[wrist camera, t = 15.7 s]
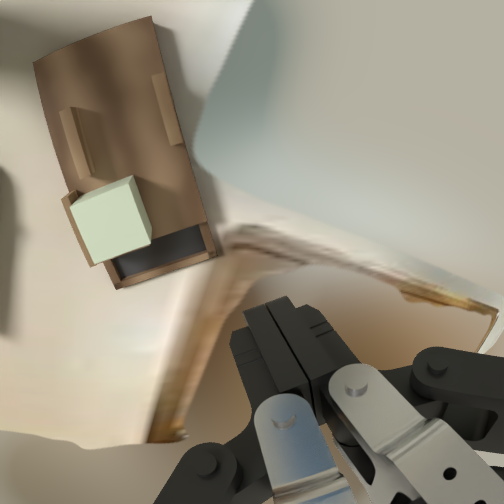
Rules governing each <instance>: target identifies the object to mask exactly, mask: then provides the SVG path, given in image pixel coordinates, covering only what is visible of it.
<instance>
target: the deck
mask: <svg viewBox="0 0 504 504" xmlns="http://www.w3.org/2000/svg"><path fill="white" fill-rule="evenodd" d="M33 66H34V71H35V76H36V80H37V85H38V89H39V94H40V98H41V102H42V106H43V110H44V114H45V118H46V121H47V125H48V129H49V132H50V135H51V139H52V142H53V145H54V149H55V152H56V155H57V158H58V161H59V164H60V167H61V170H62V173H63V176H64V179H65V182H66V185H67V187H68V190H69V193H68V194H67V195H66V196H65V197H63V198H62V199H61V201H62V203H63V206H64V208H65V211H66V213H67V216H68V218H69V221H70V223H71V226H72V228H73V230H74V233H75V235H76V237H77V240H78V242H79V244H80V247H81V249H82V251H83V253H84V255H85V258H86V260H87V262H88V264H89V266H90V267H93V266H95V265H97V264H99V263H102V262H103V263H104V266H105V268H106V270H107V272H108V274H109V276H110V278H111V280H112V282H113V285H114V287H115V289H116V290H117V289H120V288H123V287H126V286H129V285H132V284H135V283H138V282H141V281H144V280H147V279H150V278H153V277H156V276H159V275H162V274H165V273H168V272H171V271H174V270H176V269H179V268H182V267H185V266H188V265H191V264H194V263H197V262H200V261H203V260H206V259H209V258H212V257H215V256H218V255H217V252H216V249H215V246H214V243H213V239H212V236H211V233H210V230H209V226H208V223H207V218H206V215H205V211H204V208H203V205H202V201H201V198H200V195H199V191H198V188H197V185H196V181H195V178H194V174H193V171H192V167H191V164H190V160H189V157H188V153H187V150H186V146H185V143H184V139H183V136H182V132H181V129H180V125H179V121H178V118H177V114H176V110H175V107H174V103H173V99H172V95H171V92H170V88H169V84H168V80H167V77H166V73H165V69H164V65H163V61H162V57H161V53H160V49H159V45H158V41H157V37H156V33H155V29H154V25H153V21H152V17H151V16H148V17H145V18H141V19H138V20H135V21H132V22H128V23H125V24H122V25H119V26H116V27H114V28H111V29H108V30H105V31H102V32H100V33H97V34H95V35H92V36H90V37H87V38H85V39H82V40H80V41H77V42H75V43H73V44H71V45H68V46H66V47H64V48H62V49H60V50H57V51H55V52H53V53H51V54H49V55H47V56H45V57H43V58H41V59H39V60H37V61H35V62H34V63H33ZM131 175H133V176H134V179H135V182H136V185H137V188H138V191H139V194H140V196H141V199H142V202H143V205H144V207H145V210H146V213H147V216H148V218H149V221H150V224H151V226H152V235H151V244H148V245H146V246H143V247H140V248H137V249H135V250H132V251H129V252H126V253H124V254H121V255H118V256H115V257H113V258H110V259H107V260H105V261H102V262H99V263H97V264H94V262H93V260H92V258H91V256H90V254H89V251H88V249H87V247H86V245H85V243H84V240H83V238H82V236H81V234H80V231H79V229H78V227H77V224H76V222H75V219H74V217H73V215H72V212H71V210H70V206H71V205H72V204H73V203H74V202H75V201H76V200H77V199H78V198H79V197H80V196H81V195H84V194H86V193H88V192H91V191H93V190H96V189H98V188H101V187H103V186H105V185H108V184H111V183H113V182H116V181H118V180H121V179H123V178H126V177H129V176H131Z"/></svg>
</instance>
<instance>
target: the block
mask: <svg viewBox="0 0 504 504" xmlns="http://www.w3.org/2000/svg"><path fill="white" fill-rule="evenodd" d="M70 210H71V212H72V215H73V217H74V219H75V222H76V224H77V227H78V229H79V231H80V234H81V236H82V238H83V240H84V243H85V245H86V247H87V249H88V251H89V254H90V256H91V258H92V260H93V262H94V264H97V263H99V262H102V261H105V260H107V259H110V258H113V257H115V256H118V255H121V254H124V253H126V252H129V251H132V250H135V249H137V248H140V247H143V246H146V245H148V244H151V235H152V226H151V224H150V221H149V218H148V216H147V213H146V210H145V207H144V205H143V202H142V199H141V196H140V194H139V191H138V188H137V185H136V182H135V179H134V176H133V175H131V176H129V177H126V178H123V179H121V180H118V181H116V182H113V183H111V184H108V185H105V186H103V187H101V188H98V189H96V190H93V191H91V192H88V193H86V194H84V195H81V196H80V197H79V198H78V199H77V200H76V201H75V202H74V203H73V204H72V205H71V206H70Z"/></svg>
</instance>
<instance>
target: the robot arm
mask: <svg viewBox="0 0 504 504" xmlns="http://www.w3.org/2000/svg"><path fill="white" fill-rule="evenodd" d="M242 313H243V317H244V320H245V323H246V326H247V327H244V328H241V329H239V330H236V331H233V332H232V335H231V339H230V348H231V350H232V353H233V356H234V359H235V362H236V365H237V368H238V370H239V373H240V376H241V379H242V382H243V385H244V387H245V390H246V393H247V395H248V398H249V401H250V404H251V407H252V415H251V419H250V422H249V424H248V425H247V427H246V428H245V429H244V431H242V433H240V434H239V435H238V436H237V437H235V438H233V439H232V440H230V441H229V442H227V443H226V444H224V445H221V444H219V443H212V442H209V443H203V444H199V445H196V446H194V447H192V448H191V449H190V450H188V451H187V452H186V453H185V454H184V455H183V457H182V458H181V460H180V462H179V463H178V465H177V466H176V468H175V470H174V471H173V473H172V474H171V476H170V478H169V479H168V481H167V483H166V484H165V486H164V487H163V489H162V491H161V492H160V494H159V495H158V497H157V498H156V500H155V502H154V503H153V504H262V503H263V502H265V501H266V500H268V499H269V498H270V497H272V496H273V501H274V504H357V502H356V500H355V498H354V495H353V493H352V491H351V488H350V486H349V484H348V482H347V481H346V479H345V477H344V476H343V474H341V473H340V472H339V470H338V468H337V466H336V464H335V462H334V459H333V457H332V455H331V452H330V450H329V448H328V446H327V443H326V441H325V439H324V436H323V434H322V432H321V429H320V427H319V426H320V425H322V424H325V423H327V425H328V427H329V428H330V430H331V432H332V437H333V442H334V444H335V445H336V447H337V449H338V450H339V452H340V453H341V454H342V456H343V457H344V459H345V460H346V461H347V463H348V464H349V466H350V467H351V469H352V470H353V472H354V473H355V474H356V475H357V477H358V479H359V480H360V481H361V483H362V484H363V485H364V487H365V489H366V491H367V493H368V496H369V499H370V501H371V503H372V504H504V467H498V466H489V465H487V464H486V462H485V461H484V460H483V459H482V458H481V457H480V456H479V455H478V454H477V453H476V452H475V451H474V450H478V451H486V452H492V453H499V454H504V357H497V356H491V355H485V354H479V353H472V352H466V351H461V350H456V349H449V348H444V347H430V348H427V349H424V350H422V351H421V352H419V353H418V354H417V356H416V357H415V359H414V361H413V365H410V366H406V367H402V368H397V369H393V370H382V371H381V370H377V369H375V368H374V367H372V366H369V365H366V364H362V363H361V362H360V361H359V360H358V359H357V358H356V356H355V355H354V354H353V353H352V352H351V350H350V349H349V348H348V346H347V345H346V344H345V342H344V341H343V340H342V339H341V337H340V336H339V335H338V334H337V332H336V331H334V329H333V327H332V326H331V325H330V324H329V323H328V322H327V320H326V319H325V317H324V316H323V315H322V314H321V312H320V311H319V310H317V309H315V308H313V307H311V306H309V305H307V304H306V305H304V306H301V307H298V308H295V307H294V305H293V304H292V302H291V301H290V300H289V298H288V297H287V296H284V297H281V298H278V299H275V300H273V301H270V302H267V303H265V305H264V304H262V305H259V306H256V307H253V308H251V309H248V310H245V311H243V312H242Z"/></svg>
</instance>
